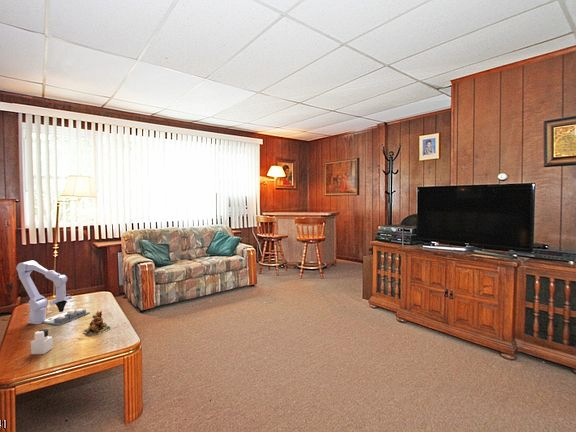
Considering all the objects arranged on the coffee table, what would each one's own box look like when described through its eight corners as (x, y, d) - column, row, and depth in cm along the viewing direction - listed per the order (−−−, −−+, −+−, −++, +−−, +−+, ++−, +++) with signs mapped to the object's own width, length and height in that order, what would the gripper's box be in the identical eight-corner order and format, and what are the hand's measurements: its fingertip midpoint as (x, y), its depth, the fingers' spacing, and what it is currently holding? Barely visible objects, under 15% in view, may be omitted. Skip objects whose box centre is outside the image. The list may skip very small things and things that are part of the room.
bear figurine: (78, 333, 201) (78, 315, 200) (101, 325, 214) (100, 308, 214) (91, 337, 195) (91, 318, 194) (114, 329, 208) (113, 311, 208)
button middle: (65, 315, 224) (65, 311, 224) (71, 313, 228) (70, 309, 228) (70, 315, 223) (70, 311, 223) (75, 313, 227) (75, 309, 227)
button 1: (56, 321, 217) (56, 317, 217) (62, 319, 221) (61, 315, 221) (61, 321, 216) (60, 317, 216) (66, 319, 220) (66, 315, 220)
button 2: (74, 314, 231) (74, 310, 231) (79, 312, 235) (79, 308, 234) (79, 314, 230) (79, 310, 230) (83, 313, 234) (83, 309, 233)
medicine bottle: (39, 348, 179) (39, 328, 179) (52, 348, 180) (52, 327, 180) (30, 354, 172) (30, 333, 172) (44, 354, 173) (43, 333, 172)
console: (39, 322, 217) (38, 318, 217) (70, 311, 240) (70, 306, 240) (59, 325, 213) (58, 320, 213) (89, 313, 236) (89, 309, 236)
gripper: (55, 296, 210) (55, 315, 210) (74, 290, 224) (75, 308, 224) (47, 295, 211) (47, 314, 212) (67, 289, 225) (67, 307, 226)
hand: (61, 311), depth 218 cm, fingers closed
